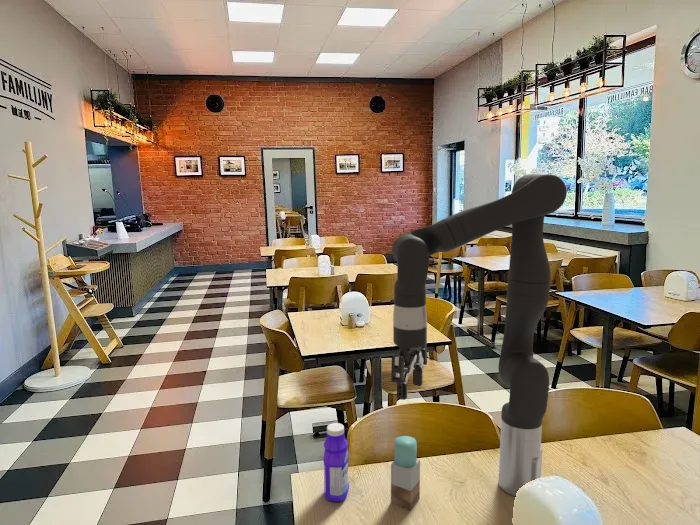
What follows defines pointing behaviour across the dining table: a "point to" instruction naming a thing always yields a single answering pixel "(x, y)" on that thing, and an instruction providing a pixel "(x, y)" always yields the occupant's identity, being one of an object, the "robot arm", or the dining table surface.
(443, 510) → the dining table surface
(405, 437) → the teal rounded cylinder
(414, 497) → the base block
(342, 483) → the bottle
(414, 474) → the mid block
